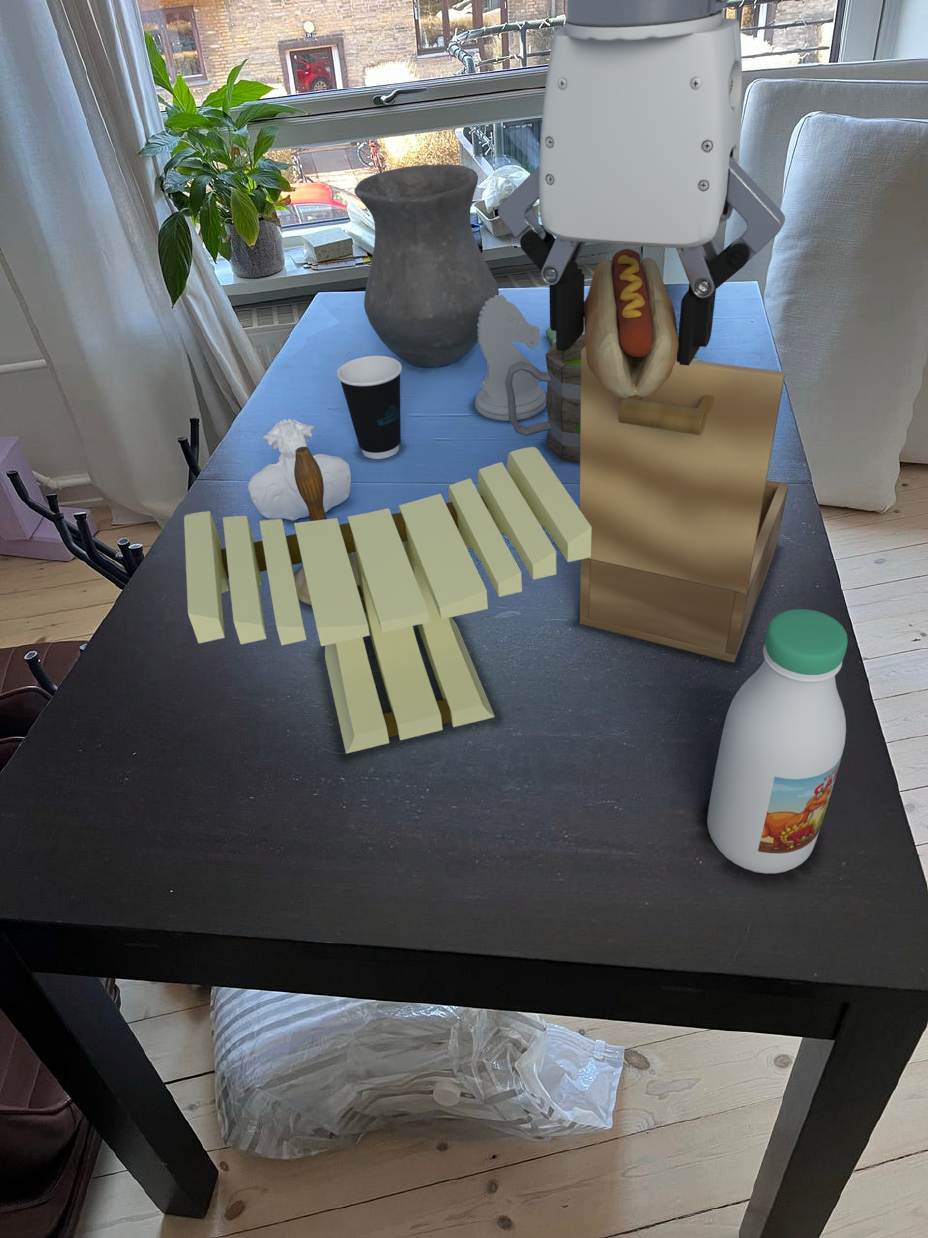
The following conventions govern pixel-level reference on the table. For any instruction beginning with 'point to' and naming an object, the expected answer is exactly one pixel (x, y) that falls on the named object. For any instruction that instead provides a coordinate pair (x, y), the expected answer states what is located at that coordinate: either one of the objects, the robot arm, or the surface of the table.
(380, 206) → the vase
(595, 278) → the food
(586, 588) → the box
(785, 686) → the milk bottle
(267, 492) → the white tied sack
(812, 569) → the table surface
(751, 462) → the lid
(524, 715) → the table surface
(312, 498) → the hand bell
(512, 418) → the mug
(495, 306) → the chess piece
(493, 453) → the table surface
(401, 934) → the table surface
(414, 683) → the slatted curved stool
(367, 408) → the dixie cup
